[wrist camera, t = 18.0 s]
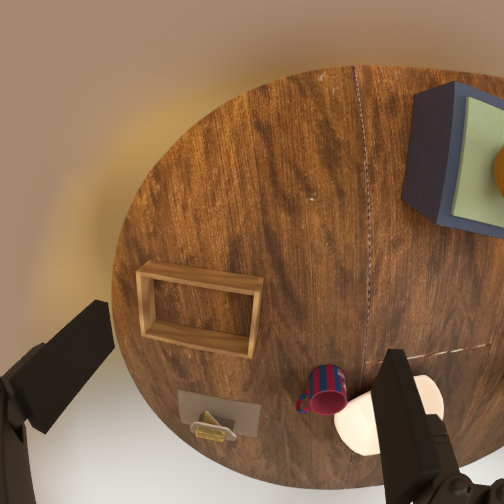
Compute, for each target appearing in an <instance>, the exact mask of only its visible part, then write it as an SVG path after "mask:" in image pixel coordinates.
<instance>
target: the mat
mask: <svg viewBox="0 0 504 504" xmlns="http://www.w3.org/2000/svg"><path fill="white" fill-rule="evenodd" d="M503 145H504V111H503V110H501V109H499V108H496V107H494V106H491V105H489V104H487V103H484V102H482V101H479V100H476V99H474V98H471V97H466V106H465V119H464V130H463V140H462V148H461V156H460V163H459V170H458V176H457V182H456V188H455V193H454V199H453V204H452V209H451V214H452V215H453V216H458V217H462V218H466V219H471V220H475V221H479V222H483V223H487V224H491V225H495V226H499V227H503V228H504V198H503V196H502V195H501V193H500V191H499V189H498V187H497V184H496V180H495V175H494V165H495V160H496V157H497V154H498V152H499V151H500V149H501V148H502V146H503Z"/></svg>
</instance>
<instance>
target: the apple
mask: <svg viewBox="0 0 504 504" xmlns="http://www.w3.org/2000/svg"><path fill="white" fill-rule="evenodd" d="M494 175H495V180H496V184H497V187H498V189H499V191H500V193H501V195H502V196H503V198H504V145H503V146H502V148H501V149H500V151H499V152H498V154H497V157H496V160H495V165H494Z"/></svg>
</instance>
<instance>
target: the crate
mask: <svg viewBox="0 0 504 504" xmlns="http://www.w3.org/2000/svg"><path fill="white" fill-rule="evenodd" d="M466 97H471V98H474V99H476V100H479V101H482V102H484V103H487V104H489V105H491V106H494V107H496V108H499V109H501V110H503V111H504V100H502V99H500V98H498V97H495V96H493V95H491V94H488V93H486V92H484V91H481V90H479V89H476V88H473V87H471V86H468V85H466V84H463V83H460V82H457V81H452V82H449V83H446V84H444V85H441V86H438V87H435V88H432V89H429V90H426V91H424V92H421V93H418V94H415V95H414V102H413V113H412V124H411V133H410V141H409V149H408V157H407V164H406V171H405V177H404V183H403V189H402V195H401V201H403V202H404V203H406V204H407V205H409V206H410V207H412V208H413V209H415V210H416V211H418V212H419V213H421V214H422V215H423V216H425V217H426V218H428V219H429V220H430V221H432V222H433V223H435V224H436V225H440V226H445V227H450V228H455V229H460V230H464V231H469V232H474V233H478V234H483V235H487V236H491V237H496V238H500V239H504V228H503V227H499V226H495V225H491V224H487V223H483V222H479V221H475V220H471V219H466V218H462V217H458V216H453V215H452V214H451V209H452V204H453V199H454V193H455V188H456V182H457V176H458V170H459V163H460V156H461V148H462V140H463V130H464V119H465V106H466Z"/></svg>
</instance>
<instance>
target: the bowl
mask: <svg viewBox="0 0 504 504" xmlns="http://www.w3.org/2000/svg"><path fill="white" fill-rule="evenodd" d="M413 377H414V380H415V383H416V386H417V389H418V391H419V394H420V397H421V400H422V403H423V406H424V409H425V412H426V414H437V415H438V416H439V417H440V419H441V420H442V419H443V410H444V407H443V399H442V396H441V394H440V391H439V389H438V387H437V386H436V384H435V383H434V381H433V380H431V379H430V378H429V377H428V376H426V375H419V376H413ZM370 392H371V390H370V391H368V392H366V393H364V394H362V395H360V396H359V397H357V398H355V399H353V400H351V401H349V402H347V405H346V407H345V408H344V409H343V410H342V411H340V412H339V413H336V414H334V423H335V426H336V429H337V432H338V433H339V435H340V437H341V439H342V440H343V441H344V442H345V443H346V445H347V446H349V447H350V448H351V449H352V450H353V451H354V452H357V453H359V454H361V455H363V456H366V455H374V454H379V453H380V449H379V442H378V435H377V429H376V423H375V417H374V411H373V405H372V400H371V394H370Z"/></svg>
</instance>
